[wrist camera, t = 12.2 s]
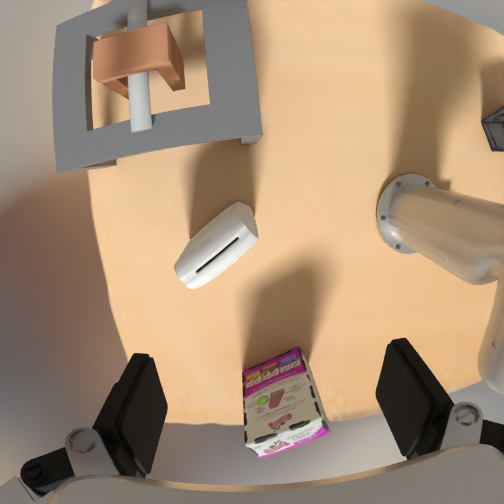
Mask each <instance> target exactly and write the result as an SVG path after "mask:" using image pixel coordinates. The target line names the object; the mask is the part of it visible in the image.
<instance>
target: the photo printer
mask: <svg viewBox="0 0 504 504" xmlns="http://www.w3.org/2000/svg"><path fill="white" fill-rule="evenodd" d="M257 239H258V231H257V225H256V221H255V219H254V216H253V212H252V210H251V208H250V207H249V206H248V205H246V204H244V203H241V202H240V201H238V202H236V203H234V204H232V205H230V206H229V207H228V208H226V209H225V210H224V211H223V212H221V213H220V214H219V215H218V216H216V217H215V218H214V219H213V220H211V221H210V222H209V223H208V224H207V225H206V226H204V227H203V228H202V229H201V230H200V231H199V232H198V233H197V234H196V235H194V236H193V237H192V239H191V240H190V241H189V243H188V244H187V246H186V247H185V249H184V251H183V252H182V254H181V255H180V257H179V259H178V260H177V262H176V263H175V266H174V269H175V273H176V275H177V277H178V279H179V280H181V281H182V282H183V283H184V285H185V286H186V287H188V288H190V289H195V288H198V287H200V286H202V285H204V284H206V283H207V282H209V281H210V280H212V279H213V278H215V277H216V276H218V275H219V274H220V273H222V272H223V271H224V270H226V269H227V268H228V267H229V266H231V265H232V264H233V263H234V262H235V261H237V260H238V259H239V258H240V257H241V256H242V255H243V254H245V253H246V252H247V251H248V250H249V249H250V248H251V247H252V246H253V245H254V243H255V242H256V241H257Z"/></svg>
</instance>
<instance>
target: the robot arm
mask: <svg viewBox="0 0 504 504" xmlns="http://www.w3.org/2000/svg"><path fill="white" fill-rule="evenodd" d="M396 183H397V185H396ZM381 216H382V217H381ZM376 219H377V227H378V230H379V233H380V235H381V237H382V239H383V240H384V242H385V243H386V244H387V245H388V246H389V247H391V248H392V249H393V250H395V251H397V252H399V253H402V254H414V253H417V252H418V253H420V254H421V255H423V256H424V257H426V258H428V259H429V260H431V261H433V262H434V263H436V264H437V265H439V266H441V267H442V268H444V269H445V270H447V271H448V272H450V273H452V274H453V275H455V276H456V277H458V278H459V279H461V280H463V281H464V282H466V283H469V284H472V285H484V284H488V283H491V282H494V281H496V280H498V283H497V290H496V294H495V299H494V300H495V301H494V305H493V308H492V312H491V315H490V319H489V322H488V325H487V328H486V331H485V334H484V338H483V341H482V344H481V347H480V350H479V355H478V371H479V374H480V376H481V378H482V380H483V381H484V382H485V384H486V385H487V386H489V387H490V388H491V389H493V390H494V391H495V392H497V393H499V394H502V395H504V205H503V204H499V203H495V202H491V201H487V200H483V199H479V198H475V197H471V196H467V195H463V194H459V193H455V192H451V191H446V190H442V189H437V188H436V186H435V185H434V184H433V183H432V182H431V181H430V180H429V179H428V178H426V177H424V176H422V175H419V174H404V175H400V176H398V177H397V178H395V179H394V180H392V181H391V182H390V183H389V184H388V185H387V186H386V188H385V189H384V191H383V192H382V194H381V196H380V199H379V202H378V206H377V215H376ZM396 245H397V246H396ZM376 399H377V401H378V403H379V405H380V407H381V409H382V412H383V414H384V416H385V418H386V420H387V422H388V425H389V427H390V429H391V432H392V433H393V436H394V438H395V440H396V443H397V445H398V447H399V449H400V452H401V454H402V456H406V458H407V460H406V461H403V462H399V463H396V464H392V465H389V466H385V467H381V468H377V469H373V470H369V471H364V472H360V473H355V474H350V475H345V476H339V477H334V478H328V479H321V480H314V481H307V482H297V483H286V484H272V485H247V486H227V485H226V486H225V485H201V484H188V483H177V482H167V481H159V480H152V479H145V476H146V474H149V473H150V472H151V468H152V464H153V461H154V457H155V453H156V449H157V446H158V442H159V439H160V435H161V431H162V428H163V424H164V421H165V417H166V414H167V409H168V406H167V401H166V398H165V395H164V392H163V389H162V386H161V383H160V379H159V376H158V373H157V369H156V366H155V362H154V359H153V358H152V357H149V355H148V354H143V353H134V354H133V355H132V357H131V359H130V361H129V363H128V364H127V366H126V368H125V370H124V372H123V374H122V376H121V378H120V380H119V382H117V383H115V385H114V386H113V388H112V390H111V392H110V394H109V395H108V397H107V399H106V401H105V403H104V405H103V407H102V409H101V411H100V413H99V415H98V417H97V419H96V421H95V423H94V425H93V427H92V428H89V427H81V428H76V429H74V430H72V431H71V432H70V433H69V434H68V435H67V437H66V439H65V447H63V448H61V449H58V450H56V451H53V452H51V453H48V454H45V455H42V456H40V457H37V458H34V459H31V460H29V461H27V462H26V463H25V464H24V465H23V467H22V468H21V473H20V474H21V476H20V477H19V478H17V477H16V476H15V477H13V478H12V479H10V480H9V481H7V482H6V483H5V484H3V485H2V486H0V504H504V425H503V424H499V423H495V422H491V421H488V420H484V419H483V413H482V411H481V409H480V408H479V407H478V406H477V405H475V404H473V403H471V402H460V403H457V404H456V405H454V403H453V402H452V400H451V398H450V397H449V396H448V394H447V393H446V391H445V390H444V388H443V387H442V386H441V384H440V383H439V381H438V380H437V379H436V377H435V376H434V375H433V373H432V372H431V370H430V369H429V368H428V366H427V365H426V364H425V362H424V361H423V360H422V358H421V357H420V356H419V354H418V353H417V352H416V350H415V349H414V348H413V346H412V345H411V344H410V343H409V341H408V340H407V339H406V338H400V339H394V340H392V341H391V343H390V344H388V345H387V348H386V353H385V357H384V361H383V365H382V369H381V373H380V377H379V381H378V385H377V388H376Z"/></svg>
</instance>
